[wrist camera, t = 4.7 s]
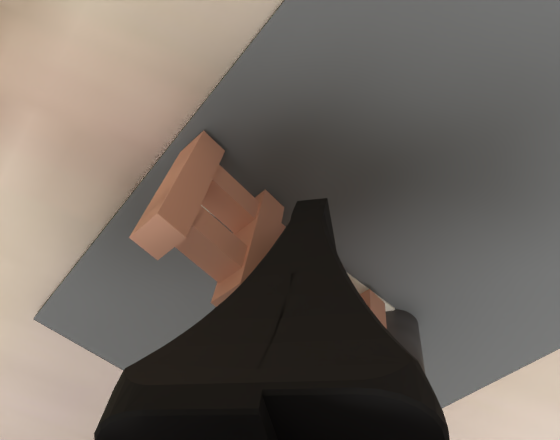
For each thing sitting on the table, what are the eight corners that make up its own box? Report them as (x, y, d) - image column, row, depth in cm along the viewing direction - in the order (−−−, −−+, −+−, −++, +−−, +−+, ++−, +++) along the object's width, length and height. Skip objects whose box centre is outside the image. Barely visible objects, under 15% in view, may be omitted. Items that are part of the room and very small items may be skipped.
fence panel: (384, 303, 16) (393, 410, 13) (360, 316, 17) (362, 423, 14) (203, 130, 14) (157, 213, 10) (180, 151, 14) (128, 237, 11)
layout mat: (309, 469, 24) (308, 477, 23) (37, 313, 20) (32, 320, 19) (762, 235, 14) (770, 243, 14) (415, -166, 10) (416, -167, 10)
